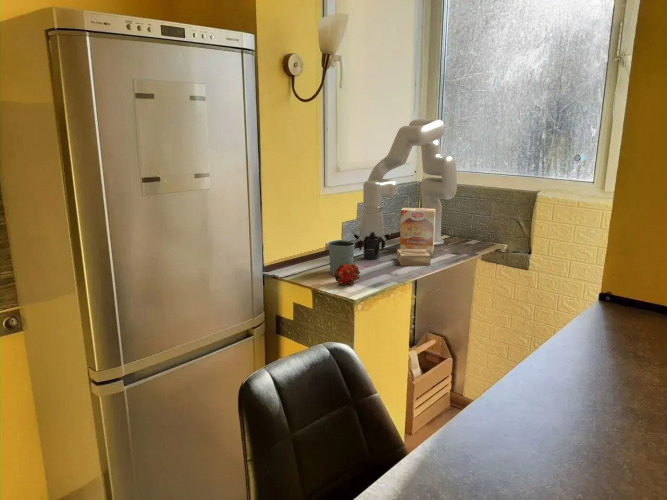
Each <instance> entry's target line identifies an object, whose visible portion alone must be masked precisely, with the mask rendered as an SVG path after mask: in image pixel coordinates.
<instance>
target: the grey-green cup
mask: <svg viewBox="0 0 667 500" xmlns="http://www.w3.org/2000/svg"><path fill="white" fill-rule="evenodd" d="M355 246H356V244H355V242H354V241H350V240H343V239H342V240H338V239H337V240H331V241H329V242H328V251H329V252H328V253H329V268H330V269H329V273H330V275H332V276H334V275H335V274H336V269H337V268H339V267H340V265H341V264H342V265H346V262H348V263H349V264H350V265H351V264H352V263H353V264H354V257H355V255H354V254H355Z"/></svg>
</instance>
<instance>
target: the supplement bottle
mask: <svg viewBox="0 0 667 500" xmlns="http://www.w3.org/2000/svg"><path fill="white" fill-rule="evenodd" d="M363 238H364V239H363V258H364V260H374V261H375V260H378V259H379V258H380V241H381V240H380V237H376V235H375V234H374V232H371V233H370V235H369V237H363Z"/></svg>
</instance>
